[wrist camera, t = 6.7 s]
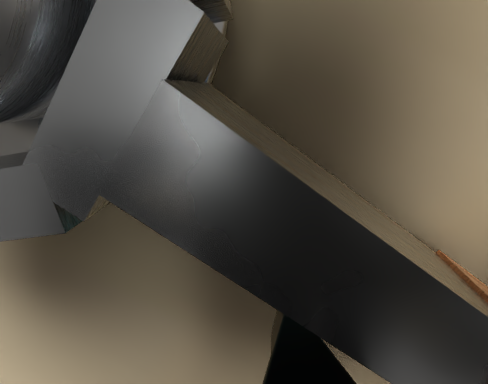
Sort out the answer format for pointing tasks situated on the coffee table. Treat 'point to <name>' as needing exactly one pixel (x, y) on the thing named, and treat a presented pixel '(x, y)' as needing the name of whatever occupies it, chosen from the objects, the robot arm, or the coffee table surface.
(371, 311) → the grey octagonal frying pan
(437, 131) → the coffee table surface
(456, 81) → the coffee table surface
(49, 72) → the grey metal bowl
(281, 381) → the robot arm
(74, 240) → the coffee table surface
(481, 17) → the coffee table surface
